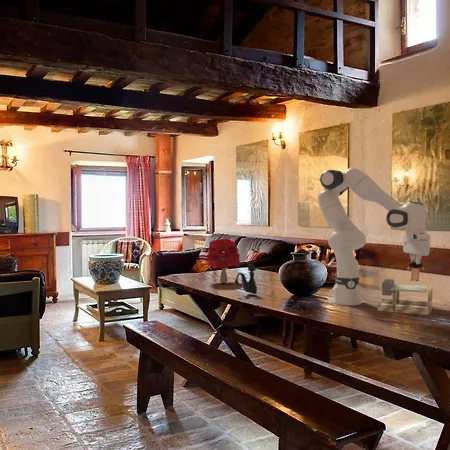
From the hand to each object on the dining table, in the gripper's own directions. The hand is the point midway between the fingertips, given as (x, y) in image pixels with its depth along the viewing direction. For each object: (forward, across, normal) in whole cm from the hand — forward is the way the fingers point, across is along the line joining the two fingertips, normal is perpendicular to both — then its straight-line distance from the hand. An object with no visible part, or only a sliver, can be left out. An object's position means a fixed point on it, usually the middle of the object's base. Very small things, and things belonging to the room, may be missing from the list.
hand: (415, 263), depth 238 cm
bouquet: (+23, -103, -85) cm, 135 cm away
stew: (+23, -90, -19) cm, 95 cm away
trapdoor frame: (+23, -4, -8) cm, 24 cm away
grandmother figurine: (+9, 0, 0) cm, 9 cm away
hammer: (+13, -4, -8) cm, 16 cm away
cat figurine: (+23, -56, -76) cm, 97 cm away
